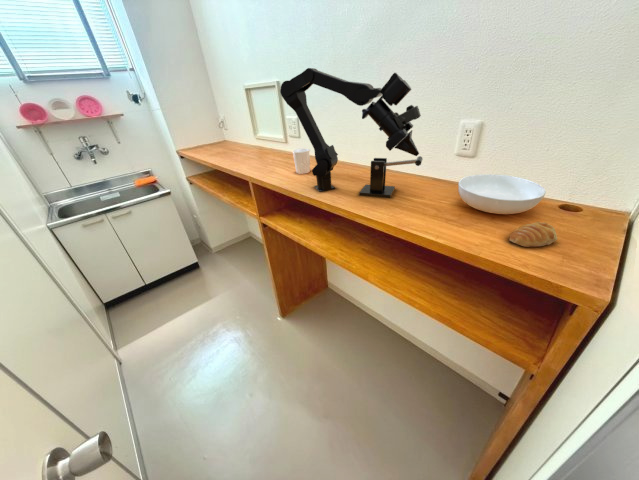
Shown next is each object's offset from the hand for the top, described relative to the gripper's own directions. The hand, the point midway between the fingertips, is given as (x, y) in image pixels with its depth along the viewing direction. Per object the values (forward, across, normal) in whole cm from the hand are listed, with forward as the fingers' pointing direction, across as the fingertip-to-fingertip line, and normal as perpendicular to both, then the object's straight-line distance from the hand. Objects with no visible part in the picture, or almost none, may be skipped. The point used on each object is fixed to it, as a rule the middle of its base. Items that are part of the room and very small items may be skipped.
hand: (417, 154), depth 80 cm
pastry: (+30, -23, -10) cm, 39 cm away
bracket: (+1, 0, +18) cm, 18 cm away
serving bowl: (+26, -4, -6) cm, 28 cm away
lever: (-1, 0, +7) cm, 7 cm away
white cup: (-28, +19, +47) cm, 57 cm away
